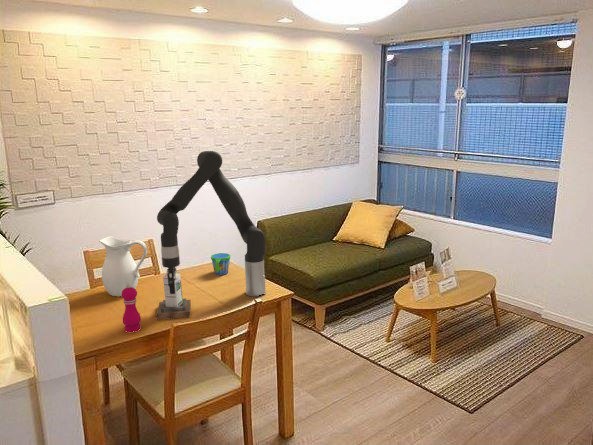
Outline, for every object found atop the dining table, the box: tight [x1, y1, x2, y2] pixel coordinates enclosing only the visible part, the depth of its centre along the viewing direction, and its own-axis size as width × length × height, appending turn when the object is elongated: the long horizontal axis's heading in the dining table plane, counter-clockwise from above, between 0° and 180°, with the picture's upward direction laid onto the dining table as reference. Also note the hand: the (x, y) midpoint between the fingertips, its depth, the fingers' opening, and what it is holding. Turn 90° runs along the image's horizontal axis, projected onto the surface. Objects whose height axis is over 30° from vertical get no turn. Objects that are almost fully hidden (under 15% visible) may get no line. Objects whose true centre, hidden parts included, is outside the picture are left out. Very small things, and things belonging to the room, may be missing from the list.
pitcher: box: [98, 235, 148, 297], centre depth 240 cm, size 24×17×28 cm
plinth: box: [156, 298, 192, 321], centre depth 220 cm, size 14×14×4 cm
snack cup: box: [210, 252, 231, 276], centre depth 270 cm, size 16×10×10 cm
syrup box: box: [162, 272, 184, 307], centre depth 218 cm, size 6×6×14 cm
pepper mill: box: [121, 284, 142, 333], centre depth 201 cm, size 7×7×20 cm
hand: (173, 290), depth 218 cm, fingers closed on syrup box, 7 cm apart
